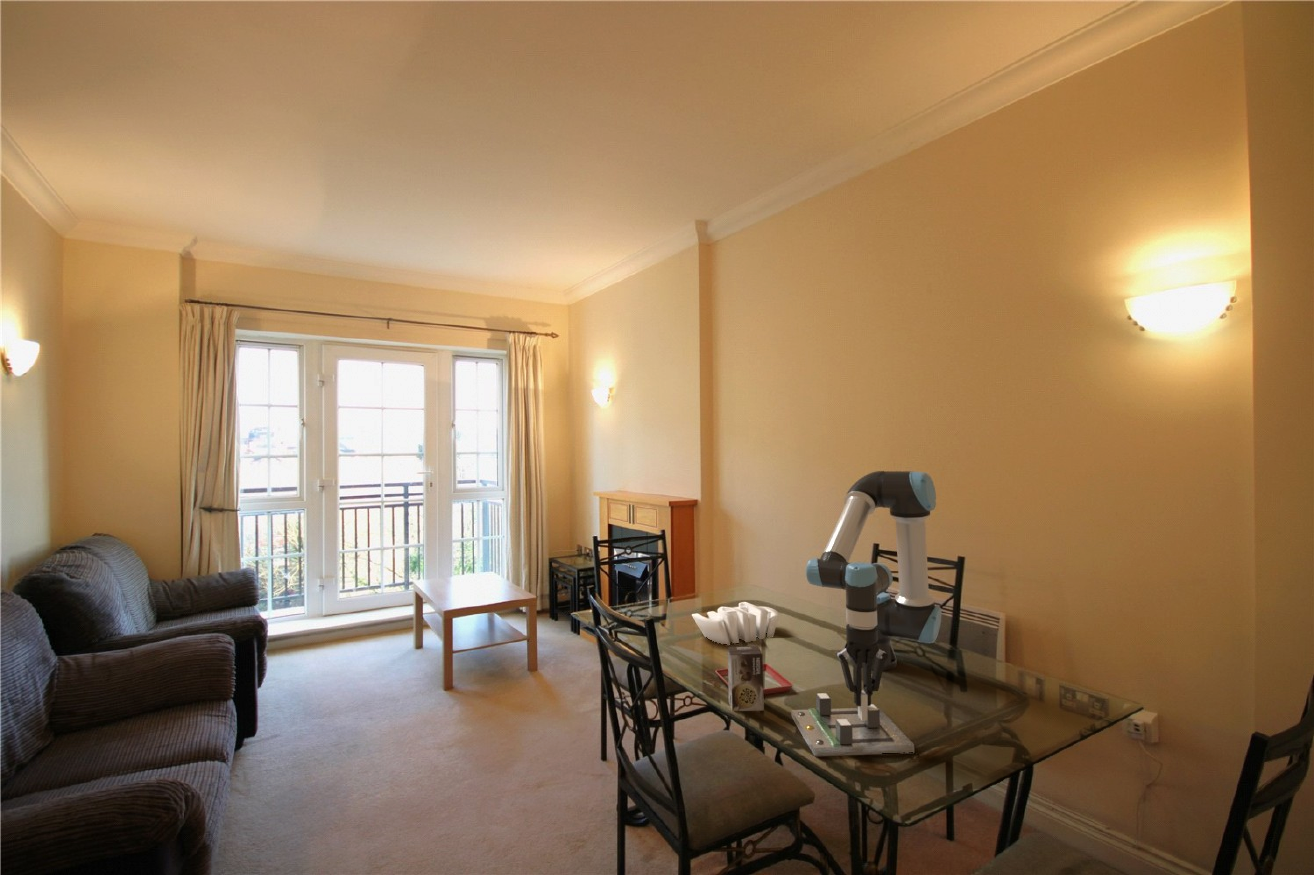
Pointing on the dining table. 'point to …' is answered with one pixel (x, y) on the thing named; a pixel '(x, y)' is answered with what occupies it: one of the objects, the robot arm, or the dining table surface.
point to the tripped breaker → (873, 717)
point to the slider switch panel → (865, 740)
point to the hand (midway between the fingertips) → (862, 718)
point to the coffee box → (745, 678)
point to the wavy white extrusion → (738, 623)
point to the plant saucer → (778, 677)
